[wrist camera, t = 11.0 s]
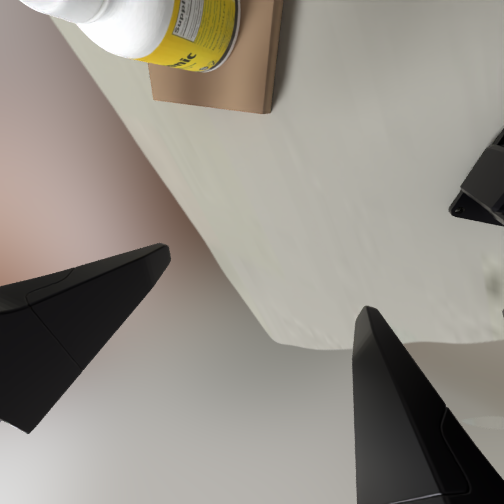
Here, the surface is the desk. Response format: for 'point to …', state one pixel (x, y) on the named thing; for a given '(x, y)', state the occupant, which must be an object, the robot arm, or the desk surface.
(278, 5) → the base plate
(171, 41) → the supplement bottle
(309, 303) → the desk surface
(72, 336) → the robot arm
